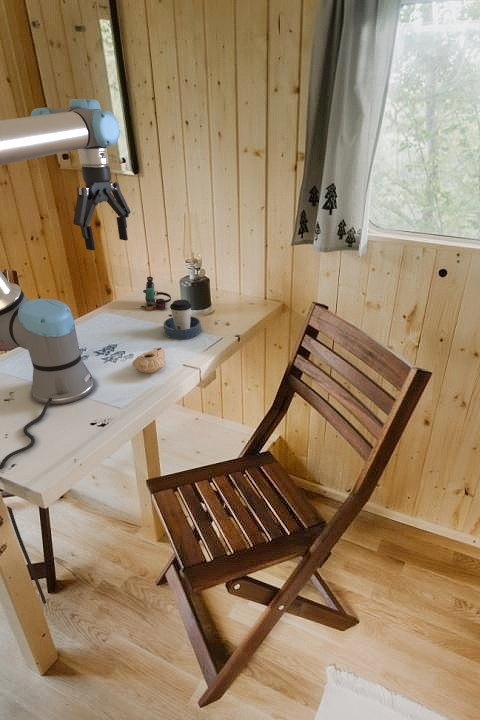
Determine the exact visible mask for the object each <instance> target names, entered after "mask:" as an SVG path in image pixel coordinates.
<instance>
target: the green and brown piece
mask: <svg viewBox="0 0 480 720" xmlns="http://www.w3.org/2000/svg"><path fill="white" fill-rule="evenodd" d="M153 280H154V277H152V276H147V277H146V284H145V289H143V290H142V293H144V294H145V298H144V299H145V303H146V306H145V309H146V310H147V311H150V310H153V309H158V310H166V307H167V305H166V304H168V303H169V302H171V301H172V297H171V295H170V294H169V293H167V292H164V291H158V290H155V283H154V282H153ZM158 296H166V297H168V299H164V298H157V297H158Z"/></svg>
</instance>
